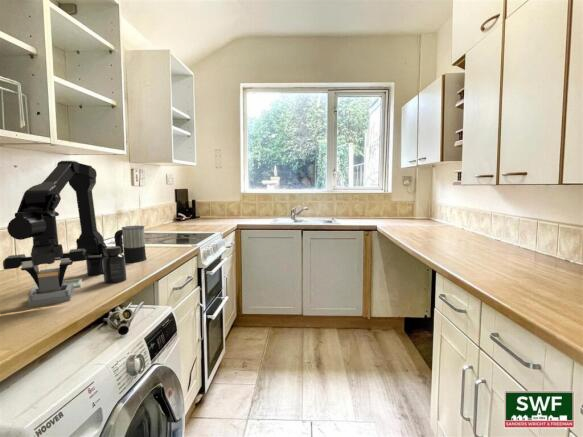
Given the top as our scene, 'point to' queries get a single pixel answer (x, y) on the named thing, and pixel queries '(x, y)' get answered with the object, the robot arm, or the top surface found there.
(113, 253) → the supplement bottle
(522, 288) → the top surface
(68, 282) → the tray
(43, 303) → the grey storage bin
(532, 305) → the top surface
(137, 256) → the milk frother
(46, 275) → the plug
